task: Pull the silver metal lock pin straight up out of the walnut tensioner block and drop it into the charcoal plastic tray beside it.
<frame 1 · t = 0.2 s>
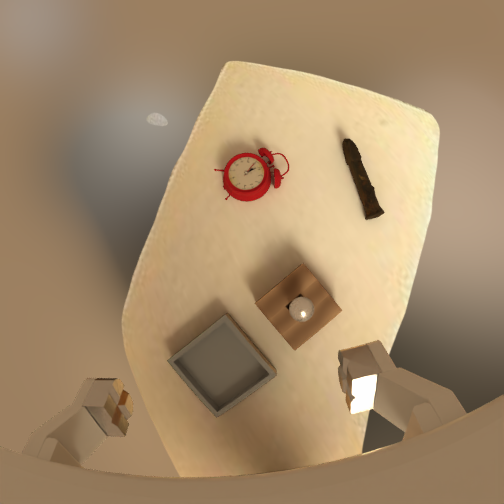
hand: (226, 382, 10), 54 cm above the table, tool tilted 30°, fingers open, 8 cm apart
alarm clock: (254, 176, 67), on the table
tray: (223, 364, 63), on the table
hand tool: (355, 180, 66), on the table
lock pin: (297, 306, 62), point 1 cm above the table, touching tensioner block
tensioner block: (297, 305, 63), on the table
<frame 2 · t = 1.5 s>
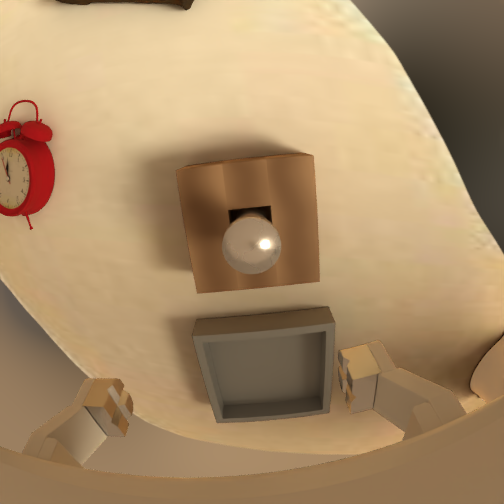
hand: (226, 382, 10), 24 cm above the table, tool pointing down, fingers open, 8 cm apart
alarm clock: (28, 160, 30), on the table
tray: (267, 364, 39), on the table
hand tool: (120, 0, 24), on the table
lock pin: (251, 217, 32), point 1 cm above the table, touching tensioner block
tensioner block: (251, 215, 32), on the table
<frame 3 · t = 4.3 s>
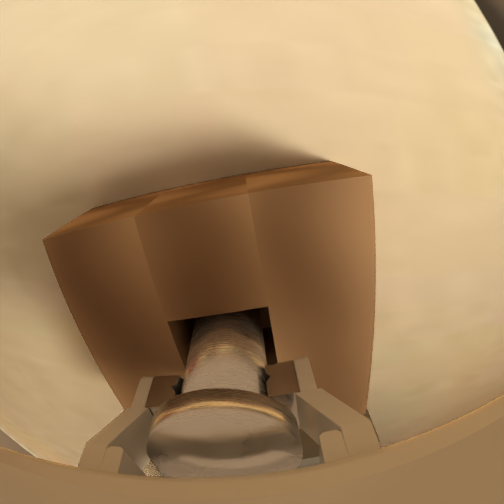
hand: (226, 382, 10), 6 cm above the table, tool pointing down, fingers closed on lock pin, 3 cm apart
tray: (275, 471, 24), on the table
lock pin: (229, 302, 16), point 1 cm above the table, touching gripper, tensioner block
tensioner block: (229, 294, 16), on the table
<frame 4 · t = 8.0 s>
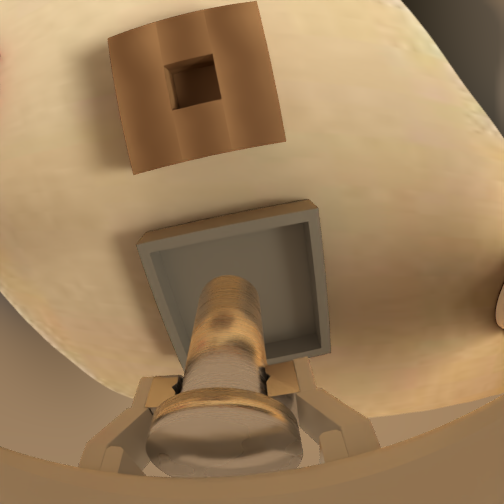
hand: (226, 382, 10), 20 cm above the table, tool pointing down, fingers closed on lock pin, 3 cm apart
tray: (242, 289, 32), on the table
lock pin: (229, 302, 16), point 15 cm above the table, touching gripper
tensioner block: (199, 89, 25), on the table
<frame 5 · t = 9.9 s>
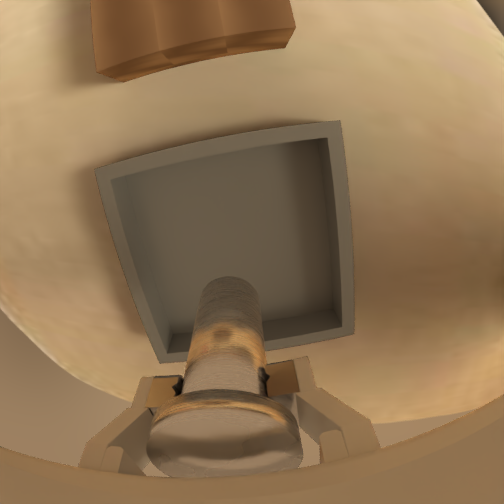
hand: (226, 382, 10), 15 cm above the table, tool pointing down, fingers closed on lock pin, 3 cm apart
tray: (236, 242, 24), on the table
lock pin: (229, 302, 16), point 9 cm above the table, touching gripper
when the fingers open (8 cm above the table, at t = 11.7 s): lock pin stays where it is, point 2 cm above the table.
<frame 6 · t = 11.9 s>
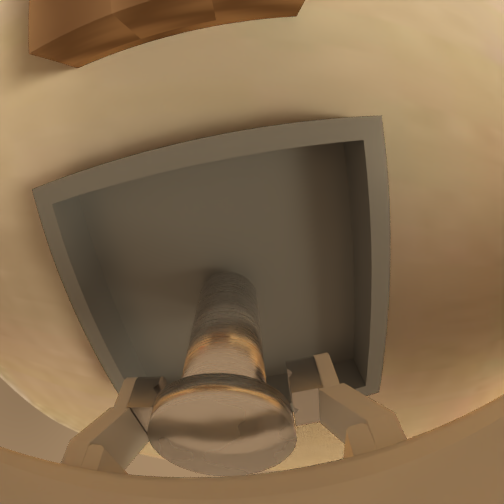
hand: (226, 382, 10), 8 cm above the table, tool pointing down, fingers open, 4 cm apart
tray: (229, 282, 18), on the table
lock pin: (228, 297, 16), point 2 cm above the table, touching gripper
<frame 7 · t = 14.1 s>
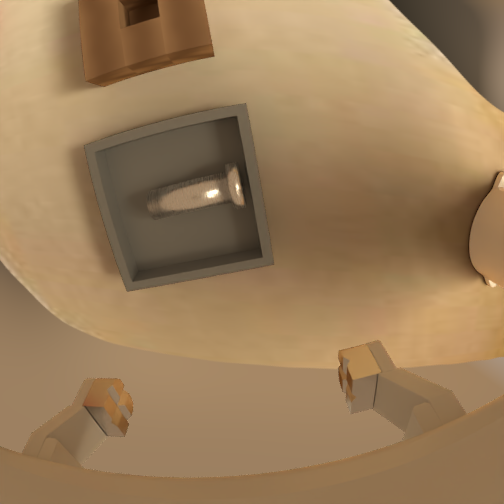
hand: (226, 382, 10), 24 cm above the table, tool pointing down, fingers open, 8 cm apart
tray: (182, 196, 32), on the table
lock pin: (153, 205, 30), point 2 cm above the table, tilted 85°, touching tray
tensioner block: (149, 22, 24), on the table
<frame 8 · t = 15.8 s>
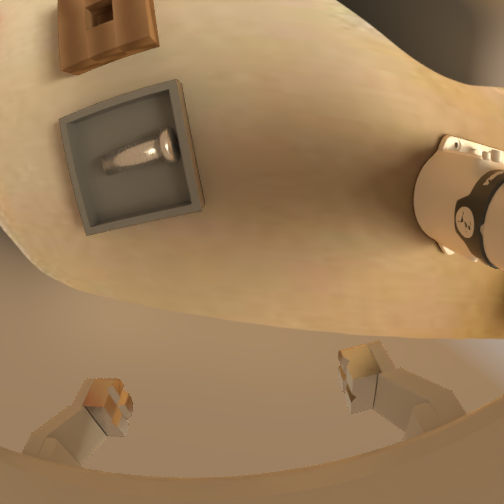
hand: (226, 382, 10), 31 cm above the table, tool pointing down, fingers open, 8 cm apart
tray: (133, 158, 37), on the table
lock pin: (108, 164, 35), point 2 cm above the table, tilted 85°, touching tray
tensioner block: (112, 23, 29), on the table
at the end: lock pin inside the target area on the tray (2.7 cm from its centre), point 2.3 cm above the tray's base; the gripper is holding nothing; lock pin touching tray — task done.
